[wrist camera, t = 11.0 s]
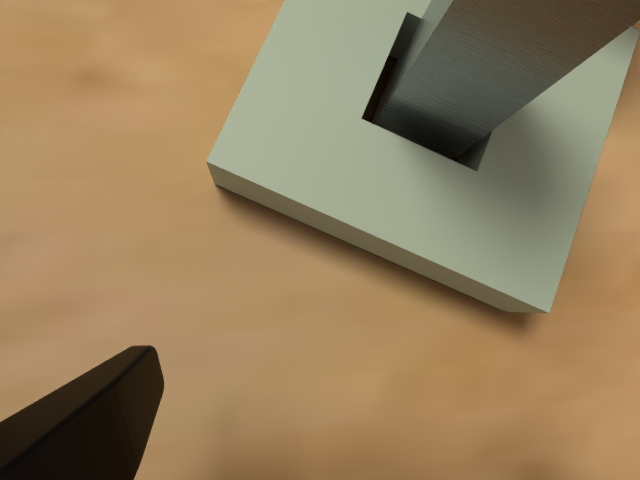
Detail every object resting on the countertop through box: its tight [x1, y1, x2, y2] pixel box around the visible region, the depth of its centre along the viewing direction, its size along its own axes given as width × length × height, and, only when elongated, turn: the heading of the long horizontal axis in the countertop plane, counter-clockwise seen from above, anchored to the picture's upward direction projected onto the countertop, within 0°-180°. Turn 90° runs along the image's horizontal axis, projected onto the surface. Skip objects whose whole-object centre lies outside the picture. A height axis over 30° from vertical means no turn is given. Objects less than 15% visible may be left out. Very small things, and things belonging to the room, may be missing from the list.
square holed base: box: [206, 0, 640, 313], centre depth 16 cm, size 17×13×9 cm
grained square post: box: [371, 0, 640, 160], centre depth 13 cm, size 3×3×15 cm
